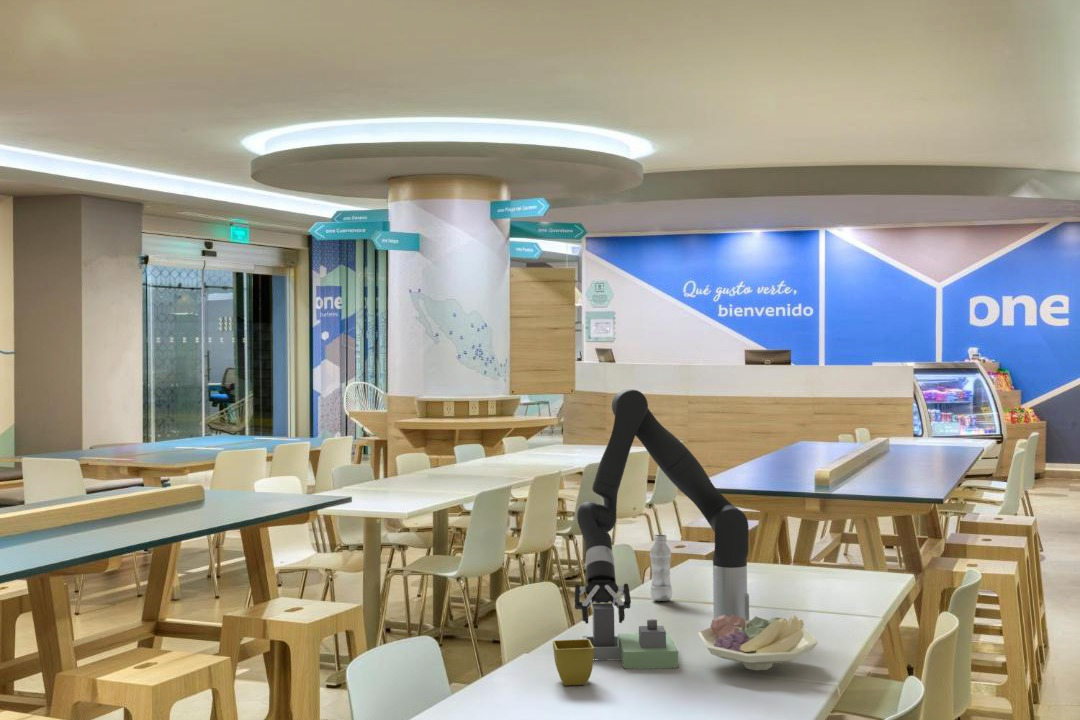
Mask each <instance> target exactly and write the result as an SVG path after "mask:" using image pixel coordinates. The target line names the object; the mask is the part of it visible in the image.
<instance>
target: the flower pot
mask: <svg viewBox="0 0 1080 720" xmlns="http://www.w3.org/2000/svg"><path fill="white" fill-rule="evenodd" d="M552 646H553V647H552V649H553V656H554V664H555V667H556V670H557V673H558V675H559V678H560V680H561V682H562V684H563V686H566V687H568V686H584V685H587V684H588V681H589V679H590V678H591V674H592V673H593V672H592V671H593V664H594V660H593V656H594V647H593V645H592V644H591V641H590V640H589V639H583V638H581V639H561V640H560V639H559V640H558V639H557V640H555V639H554V640H552Z"/></svg>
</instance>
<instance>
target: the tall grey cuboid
mask: <svg viewBox="0 0 1080 720" xmlns="http://www.w3.org/2000/svg"><path fill="white" fill-rule="evenodd" d="M591 607H592V636H593V647H615V637H614V636H615V606H614V605H613V604H612V603H611V602H608V603H604V602H602V603H593V604H592V605H591Z"/></svg>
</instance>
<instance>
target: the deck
mask: <svg viewBox="0 0 1080 720" xmlns="http://www.w3.org/2000/svg"><path fill="white" fill-rule="evenodd" d="M614 637H615V647H594V656H593V659H594V660H593V661H596V660H595V659H621V660H620V661H621V663H622V666H624V667H623V669H624V668H634V669H677V667H678V668H679V649H678V648H677V646H676V645H675V642H674V640H673V638H672V636H671V634H670V632H667V631H666V628H665V627H664V625H658V620H657V619H653V618H651V619H647V620H646V625H638V632H637V633H636V632H635V633H634V632H632V633H631V632H629V633H617V635H614ZM582 639H589V640H590V641H591V644H592V645H593V635H591V636H590V635H584V636H583V635H582ZM672 667H673V668H672Z"/></svg>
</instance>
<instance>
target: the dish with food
mask: <svg viewBox="0 0 1080 720" xmlns="http://www.w3.org/2000/svg"><path fill="white" fill-rule="evenodd" d="M789 617H790V618H789V619H788V620H787V619H786V618H785V617H770V620H769V619H764V618H762V617H759V616H754V617H753V618H752V619H751V620H750V619H749V620H747V621H745V619H743V618H740V617H737V616H734V615H732V616H731V617H728V616H726V615H722V616H718V617H716V618H715V619H714V618H713V619H712V620H711V623H710V627H709V628H706V629H704V630H702V631H699V632H698V636H699V637H700V639H701V640H702V642H703V644H704V646H705V647H706V648H707V650H708V651H709V653H710V655H712V656H716V657H719V658H721V659H724V660H729V661H733V662H736V663H738V662H739V663H742V665H743V666H744V668H746V669H749V670H753V671H766V670H769V669H770V668H773V664H786V663H787V662H791V661H793V660H796V659H797V658H799V657H801V656H803V655H805V654H807V653H808V652H810V651H812V650H814V649H815V648H816V646H817V645H818V643H819V640H818V639H816V637H815V636H814V635H813V634H812V633H811V632H810V631H809V630H808V629H807V628H806V627H804V626H805V624H804V621H803V618H799V619H798V617H797V616H796V615H792V616H789Z"/></svg>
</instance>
